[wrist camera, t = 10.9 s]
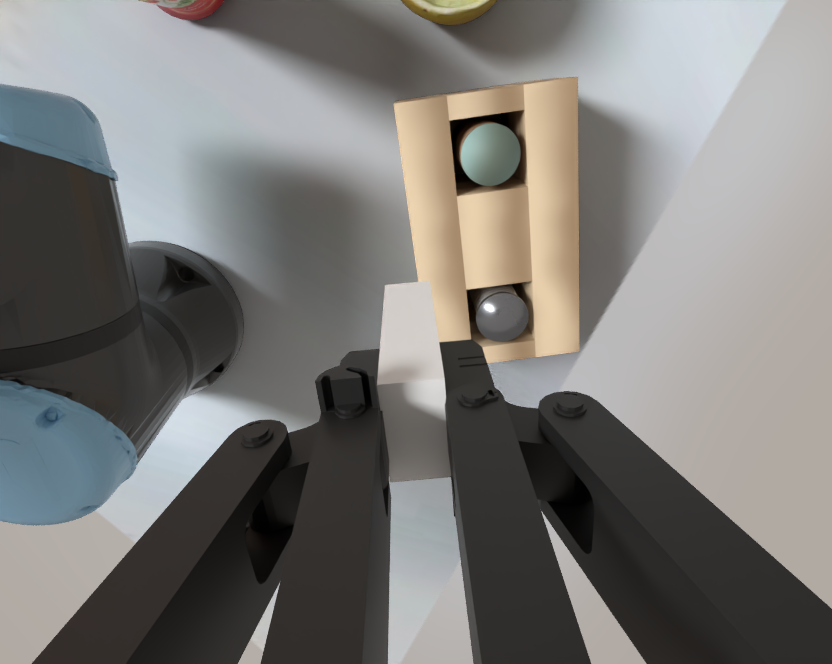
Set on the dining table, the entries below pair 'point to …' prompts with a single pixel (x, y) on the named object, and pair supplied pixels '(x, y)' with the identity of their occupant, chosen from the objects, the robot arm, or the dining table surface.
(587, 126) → the dining table surface
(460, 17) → the mug
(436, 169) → the oak block
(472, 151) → the walnut peg
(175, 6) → the liquor
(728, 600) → the robot arm
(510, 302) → the metal pin
